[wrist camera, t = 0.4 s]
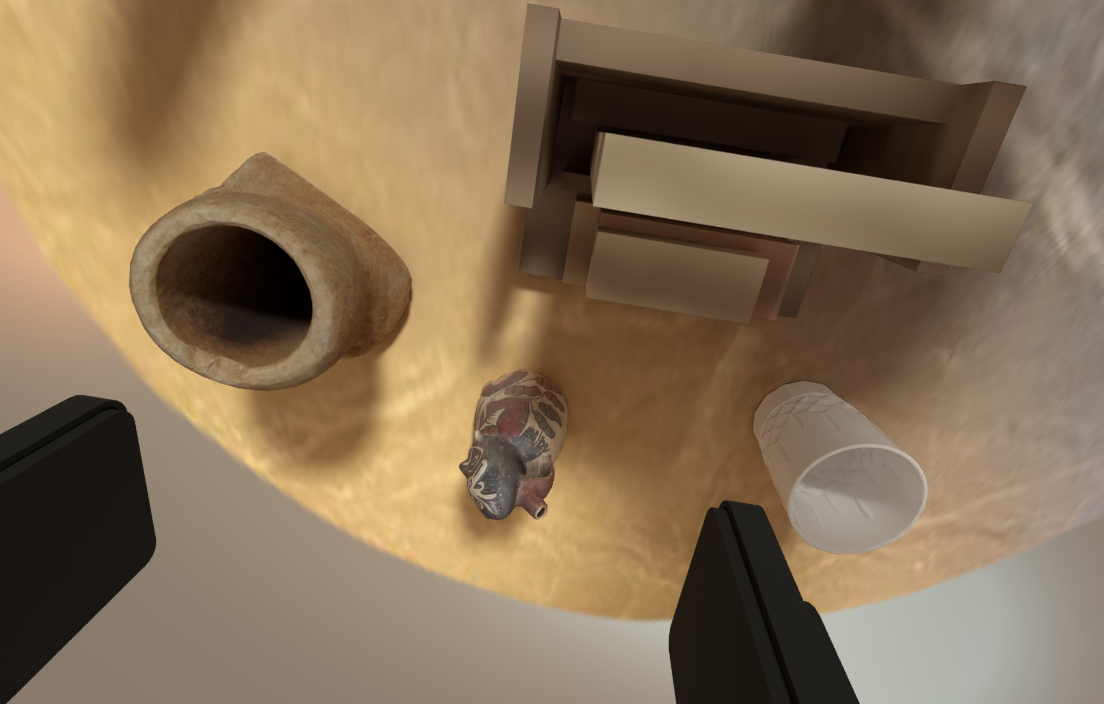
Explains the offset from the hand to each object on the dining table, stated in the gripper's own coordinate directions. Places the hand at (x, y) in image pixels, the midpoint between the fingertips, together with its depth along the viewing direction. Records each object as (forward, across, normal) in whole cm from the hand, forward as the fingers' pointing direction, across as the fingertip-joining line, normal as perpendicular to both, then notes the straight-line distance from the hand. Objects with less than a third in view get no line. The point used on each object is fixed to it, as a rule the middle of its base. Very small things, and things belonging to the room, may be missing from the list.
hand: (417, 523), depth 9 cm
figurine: (+31, 0, +15) cm, 34 cm away
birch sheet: (+30, -8, -5) cm, 31 cm away
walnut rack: (+31, -8, -3) cm, 32 cm away
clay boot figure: (+31, +16, +4) cm, 35 cm away
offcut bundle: (+29, -8, +1) cm, 30 cm away
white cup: (+31, -21, +12) cm, 39 cm away
